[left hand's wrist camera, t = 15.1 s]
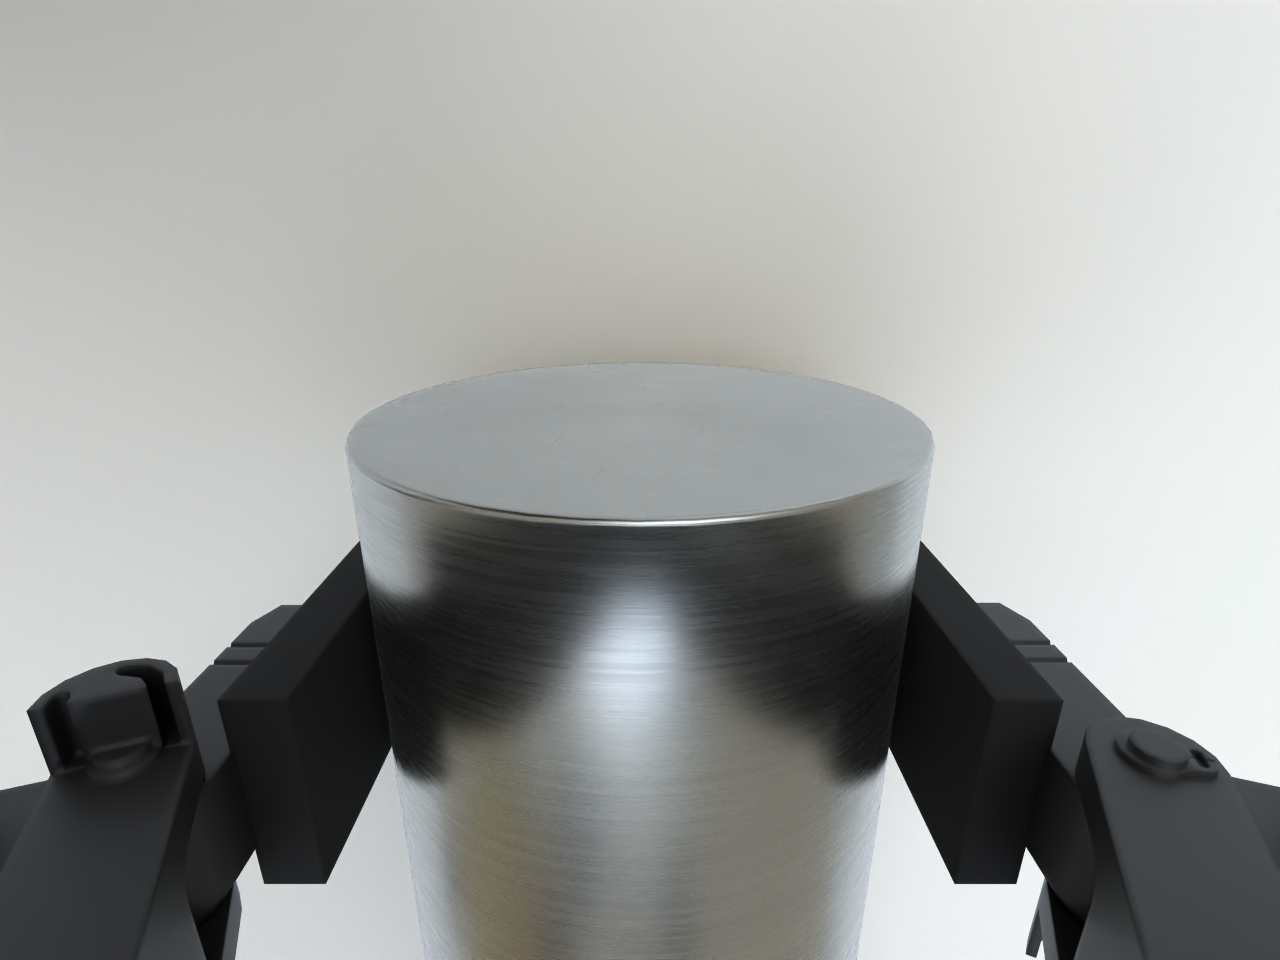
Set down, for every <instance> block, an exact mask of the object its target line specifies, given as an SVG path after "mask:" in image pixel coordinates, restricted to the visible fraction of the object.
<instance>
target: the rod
mask: <svg viewBox="0 0 1280 960" xmlns="http://www.w3.org/2000/svg"><path fill="white" fill-rule="evenodd" d="M346 454H347V460H348V467H349V473H350V480H351V486H352V492H353V499H354V505H355V512H356V518H357V524H358V531H359V537H360V544H361V550H362V556H363V563H364V569H365V576H366V582H367V589H368V595H369V601H370V608H371V614H372V621H373V627H374V633H375V640H376V646H377V653H378V659H379V665H380V672H381V678H382V685H383V691H384V697H385V704H386V710H387V717H388V723H389V729H390V736H391V742H392V749H393V755H394V761H395V768H396V774H397V781H398V787H399V794H400V800H401V806H402V813H403V819H404V826H405V832H406V838H407V845H408V851H409V858H410V864H411V870H412V877H413V883H414V890H415V896H416V902H417V909H418V915H419V922H420V928H421V934H422V941H423V947H424V954H425V960H856V958H857V952H858V945H859V939H860V932H861V926H862V919H863V913H864V906H865V899H866V893H867V886H868V880H869V873H870V867H871V860H872V854H873V847H874V840H875V834H876V827H877V821H878V814H879V808H880V801H881V795H882V788H883V781H884V775H885V768H886V762H887V755H888V749H889V742H890V736H891V729H892V722H893V716H894V709H895V703H896V696H897V690H898V683H899V676H900V670H901V663H902V657H903V650H904V644H905V637H906V631H907V624H908V617H909V611H910V604H911V598H912V591H913V585H914V578H915V572H916V565H917V558H918V552H919V545H920V539H921V532H922V526H923V519H924V513H925V506H926V499H927V493H928V486H929V480H930V473H931V467H932V460H933V454H934V443H933V438H932V434H931V432H930V430H929V429H928V427H927V426H926V425H925V423H924V422H923V421H922V420H921V419H919V418H918V417H917V416H916V415H914V414H913V413H912V412H910V411H908V410H907V409H905V408H903V407H901V406H900V405H898V404H896V403H894V402H891V401H889V400H887V399H884V398H882V397H880V396H877V395H874V394H871V393H868V392H865V391H863V390H860V389H856V388H853V387H849V386H846V385H842V384H838V383H834V382H830V381H825V380H821V379H816V378H811V377H805V376H800V375H794V374H788V373H781V372H775V371H768V370H759V369H750V368H741V367H730V366H718V365H702V364H680V363H604V364H582V365H566V366H554V367H542V368H533V369H524V370H516V371H508V372H502V373H495V374H488V375H483V376H477V377H472V378H467V379H462V380H458V381H453V382H449V383H444V384H441V385H437V386H433V387H430V388H426V389H423V390H420V391H417V392H414V393H411V394H408V395H405V396H402V397H400V398H398V399H395V400H393V401H391V402H388V403H386V404H384V405H382V406H380V407H378V408H377V409H375V410H373V411H371V412H370V413H368V414H367V415H365V416H364V417H363V418H362V419H361V420H359V421H358V422H357V423H356V424H355V426H354V427H353V428H352V430H351V431H350V432H349V435H348V439H347V444H346Z"/></svg>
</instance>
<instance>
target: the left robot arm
mask: <svg viewBox="0 0 1280 960" xmlns="http://www.w3.org/2000/svg"><path fill="white" fill-rule="evenodd" d="M27 714H28V716H29V719H30V722H31V724H32V727H33V730H34V732H35V735H36V738H37V740H38V743H39V745H40V748H41V751H42V753H43V756H44V759H45V761H46V764H47V767H48V769H49V772H50V777H49V779H48V780H47V781H42V782H38V783H33V784H28V785H24V786H19V787H14V788H10V789H5V790H0V960H235V955H236V948H237V941H238V933H239V926H240V919H241V911H242V907H241V900H240V893H239V890H238V886H237V882H236V879H237V878H238V876H239V875H240V873H241V871H242V870H243V868H244V866H245V865H246V863H247V862H248V860H249V858H250V857H251V855H252V854H253V852H254V850H256V854H257V858H258V862H259V865H260V869H261V873H262V877H263V881H264V884H326V883H327V880H328V878H329V876H330V874H331V872H332V870H333V868H334V866H335V864H336V862H337V860H338V857H339V855H340V853H341V851H342V849H343V847H344V845H345V843H346V841H347V839H348V837H349V834H350V832H351V830H352V828H353V826H354V824H355V822H356V820H357V818H358V816H359V814H360V811H361V809H362V807H363V805H364V803H365V801H366V799H367V797H368V795H369V793H370V791H371V788H372V786H373V784H374V782H375V780H376V778H377V776H378V774H379V772H380V770H381V768H382V765H383V763H384V761H385V759H386V757H387V755H388V753H389V751H390V749H391V747H392V742H391V736H390V729H389V723H388V717H387V710H386V704H385V697H384V691H383V685H382V678H381V672H380V665H379V659H378V653H377V646H376V640H375V633H374V627H373V621H372V614H371V608H370V601H369V595H368V589H367V582H366V576H365V569H364V563H363V556H362V550H361V544H360V541H359V542H358V543H357V544H356V546H355V547H354V548H353V549H352V550H351V551H350V552H349V553H348V555H347V556H346V557H345V558H344V559H343V560H342V561H341V562H340V563H339V565H338V566H337V567H336V568H335V569H334V570H333V571H332V572H331V574H330V575H329V576H328V577H327V578H326V579H325V580H324V581H323V582H322V584H321V585H320V586H319V587H318V588H317V589H316V590H315V591H314V593H313V594H312V595H311V596H310V597H309V598H308V599H307V600H306V601H305V603H304V604H303V605H281V606H279V607H278V608H276V609H274V610H272V611H271V612H269V613H267V614H266V615H264V616H262V617H260V618H259V619H257V620H255V621H254V622H252V623H251V624H250V625H249V626H248V627H247V628H246V629H245V630H244V631H243V632H242V633H241V634H240V635H239V636H238V637H237V638H236V639H235V640H234V641H233V642H232V643H231V647H227V648H226V649H225V650H224V651H223V652H222V653H221V654H220V655H219V656H218V657H217V658H216V659H215V660H214V665H209V666H208V667H207V668H206V669H205V670H204V671H203V672H202V673H201V675H200V676H199V677H198V678H197V679H196V680H195V681H194V682H193V683H192V684H191V685H190V686H189V687H188V688H187V689H186V690H185V691H184V692H183V688H182V685H181V681H180V678H179V674H178V670H177V668H176V667H174V666H173V665H171V664H170V663H169V662H167V661H164V660H157V659H149V658H143V659H134V660H124V661H119V662H115V663H112V664H108V665H104V666H100V667H97V668H93V669H91V670H88V671H86V672H84V673H81V674H79V675H77V676H74V677H72V678H70V679H67V680H65V681H64V682H62V683H60V684H59V685H57V686H56V687H54V688H53V689H51V690H49V691H48V692H46V693H45V694H43V695H42V696H41V697H40V698H39V699H38V700H37V701H36V702H35V703H34V704H33V705H32V706H31V707H30V708H29V709H28V710H27ZM889 748H890V750H891V752H892V754H893V756H894V758H895V760H896V762H897V764H898V767H899V769H900V771H901V773H902V775H903V777H904V779H905V781H906V783H907V785H908V787H909V790H910V792H911V794H912V796H913V798H914V800H915V802H916V804H917V806H918V808H919V810H920V813H921V815H922V817H923V819H924V821H925V823H926V825H927V827H928V829H929V831H930V833H931V836H932V838H933V840H934V842H935V844H936V846H937V848H938V850H939V852H940V854H941V856H942V859H943V861H944V863H945V865H946V867H947V869H948V871H949V873H950V875H951V877H952V879H953V882H954V884H1016V883H1017V879H1018V875H1019V871H1020V868H1021V864H1022V860H1023V856H1024V852H1025V848H1026V847H1027V849H1028V851H1029V852H1030V854H1031V855H1032V857H1033V859H1034V860H1035V862H1036V864H1037V865H1038V867H1039V868H1040V870H1041V872H1042V873H1043V875H1044V876H1045V879H1044V882H1043V886H1042V890H1041V893H1040V897H1039V900H1038V904H1037V908H1036V911H1035V915H1034V918H1033V922H1032V926H1031V929H1030V933H1029V936H1028V941H1027V948H1026V955H1029V956H1032V957H1035V958H1036V957H1037V953H1038V950H1039V946H1040V943H1041V941H1042V940H1043V946H1044V953H1045V960H1280V787H1276V786H1272V785H1267V784H1262V783H1258V782H1253V781H1248V780H1243V779H1239V778H1234V777H1231V776H1230V774H1229V773H1228V772H1227V770H1226V769H1225V768H1224V767H1223V765H1222V764H1221V763H1220V762H1219V760H1218V759H1217V758H1216V757H1215V756H1214V755H1212V754H1211V753H1210V752H1208V751H1207V750H1206V749H1204V748H1203V747H1202V746H1200V745H1199V744H1198V743H1196V742H1195V741H1193V740H1191V739H1189V738H1187V737H1185V736H1183V735H1181V734H1179V733H1177V732H1175V731H1173V730H1171V729H1169V728H1167V727H1164V726H1161V725H1157V724H1154V723H1151V722H1148V721H1144V720H1141V719H1134V718H1126V717H1125V716H1124V715H1123V714H1122V713H1121V712H1120V711H1119V710H1118V709H1117V708H1116V707H1115V706H1114V705H1113V704H1112V703H1111V702H1110V701H1109V700H1108V699H1107V698H1106V697H1105V696H1104V695H1103V694H1102V693H1101V692H1100V691H1099V690H1098V689H1097V688H1096V687H1095V686H1094V685H1093V684H1092V683H1091V682H1090V681H1089V680H1088V679H1087V678H1086V677H1085V676H1084V675H1083V674H1082V673H1081V672H1080V671H1079V670H1078V669H1077V668H1076V667H1075V666H1074V665H1073V664H1072V663H1068V662H1067V658H1066V657H1065V656H1064V655H1063V654H1062V653H1061V652H1060V651H1059V650H1058V648H1057V647H1056V646H1055V645H1050V640H1049V639H1048V638H1047V637H1046V636H1045V635H1044V634H1043V633H1042V632H1041V631H1040V630H1039V629H1038V628H1037V627H1036V626H1035V625H1034V624H1033V623H1032V622H1031V621H1030V620H1028V619H1026V618H1025V617H1023V616H1021V615H1019V614H1018V613H1016V612H1014V611H1012V610H1011V609H1009V608H1007V607H1006V606H1004V605H1002V604H1000V603H976V602H975V601H974V600H973V599H972V598H971V596H970V595H969V594H968V593H967V592H966V591H965V590H964V589H963V587H962V586H961V585H960V584H959V583H958V582H957V581H956V580H955V579H954V577H953V576H952V575H951V574H950V573H949V572H948V571H947V570H946V568H945V567H944V566H943V565H942V564H941V563H940V562H939V561H938V560H937V558H936V557H935V556H934V555H933V554H932V553H931V552H930V551H929V549H928V548H927V547H926V546H925V545H924V544H923V543H922V542H921V541H920V545H919V552H918V558H917V565H916V572H915V578H914V585H913V591H912V598H911V604H910V611H909V617H908V624H907V631H906V637H905V644H904V650H903V657H902V663H901V670H900V676H899V683H898V690H897V696H896V703H895V709H894V716H893V722H892V729H891V736H890V742H889Z"/></svg>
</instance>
